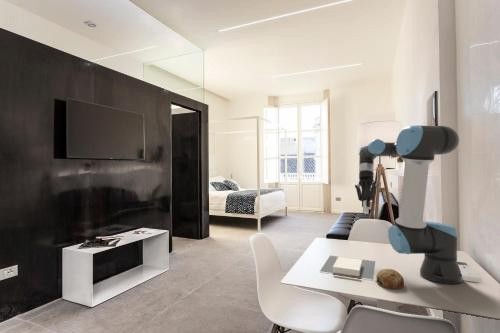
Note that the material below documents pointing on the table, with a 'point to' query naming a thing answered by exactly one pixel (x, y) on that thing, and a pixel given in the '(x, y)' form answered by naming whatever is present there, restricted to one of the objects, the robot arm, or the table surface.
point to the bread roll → (390, 279)
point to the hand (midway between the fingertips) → (365, 213)
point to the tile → (347, 266)
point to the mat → (366, 272)
